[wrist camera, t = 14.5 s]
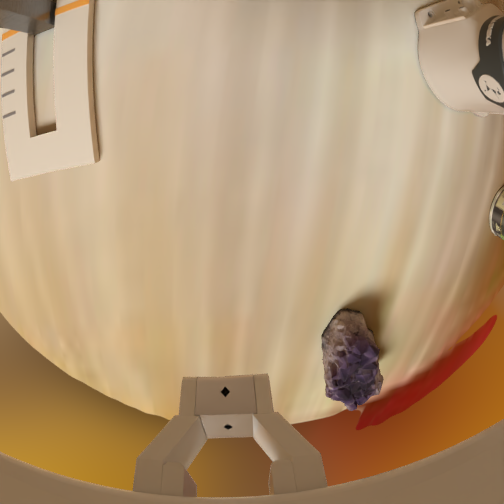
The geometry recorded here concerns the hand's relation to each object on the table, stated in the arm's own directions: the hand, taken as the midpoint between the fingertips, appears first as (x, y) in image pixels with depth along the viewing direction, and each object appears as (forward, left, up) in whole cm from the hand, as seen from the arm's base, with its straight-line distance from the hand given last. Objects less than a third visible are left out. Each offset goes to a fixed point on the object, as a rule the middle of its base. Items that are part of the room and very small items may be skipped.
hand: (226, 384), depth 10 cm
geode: (+8, +35, -29) cm, 46 cm away
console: (+2, -28, -28) cm, 40 cm away
